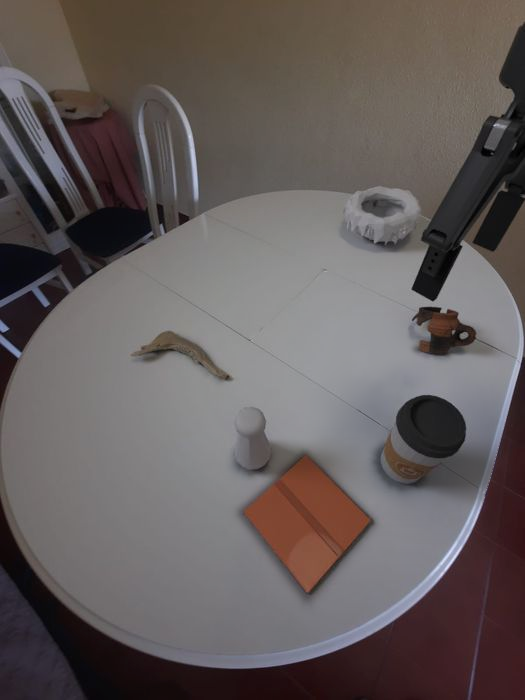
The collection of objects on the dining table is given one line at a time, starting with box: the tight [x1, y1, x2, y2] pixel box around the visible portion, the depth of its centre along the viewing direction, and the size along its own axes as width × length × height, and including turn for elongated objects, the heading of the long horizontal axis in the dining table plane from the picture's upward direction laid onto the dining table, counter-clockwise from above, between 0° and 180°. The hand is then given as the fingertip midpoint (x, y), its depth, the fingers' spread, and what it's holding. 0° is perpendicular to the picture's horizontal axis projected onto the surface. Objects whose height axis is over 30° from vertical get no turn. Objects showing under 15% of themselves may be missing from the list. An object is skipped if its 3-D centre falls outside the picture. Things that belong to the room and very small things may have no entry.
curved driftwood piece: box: [130, 330, 230, 380], centre depth 69 cm, size 9×20×2 cm, turn 75°
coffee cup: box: [380, 394, 467, 485], centre depth 48 cm, size 8×8×15 cm
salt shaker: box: [233, 406, 272, 471], centre depth 50 cm, size 6×6×13 cm
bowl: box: [342, 185, 423, 246], centre depth 93 cm, size 21×20×10 cm
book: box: [243, 454, 372, 594], centre depth 49 cm, size 13×13×1 cm
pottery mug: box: [411, 306, 477, 355], centre depth 69 cm, size 12×10×8 cm
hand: (455, 268), depth 40 cm, fingers open, 13 cm apart
